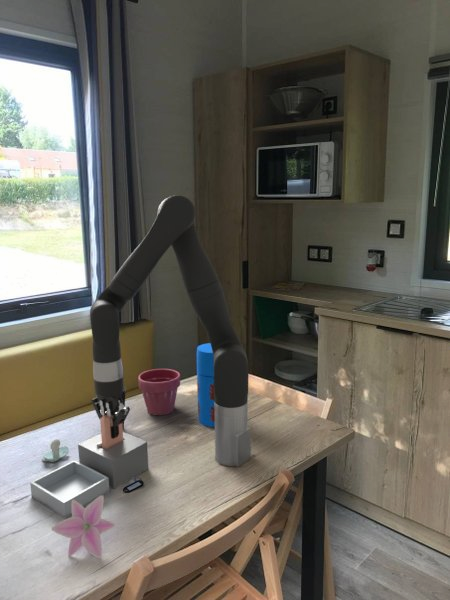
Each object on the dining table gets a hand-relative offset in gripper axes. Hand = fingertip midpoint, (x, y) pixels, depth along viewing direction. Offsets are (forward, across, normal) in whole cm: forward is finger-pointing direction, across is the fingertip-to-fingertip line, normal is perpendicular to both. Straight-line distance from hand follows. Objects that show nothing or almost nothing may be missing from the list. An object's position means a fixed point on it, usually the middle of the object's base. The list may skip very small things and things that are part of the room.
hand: (112, 436), depth 133 cm
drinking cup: (+10, +18, -16) cm, 26 cm away
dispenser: (+10, 0, 0) cm, 10 cm away
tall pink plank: (+7, 0, 0) cm, 7 cm away
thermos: (+10, -3, -40) cm, 41 cm away
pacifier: (+10, +19, +6) cm, 22 cm away
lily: (+10, -18, +23) cm, 31 cm away
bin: (+10, 0, +14) cm, 17 cm away
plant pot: (+10, +17, -35) cm, 40 cm away
